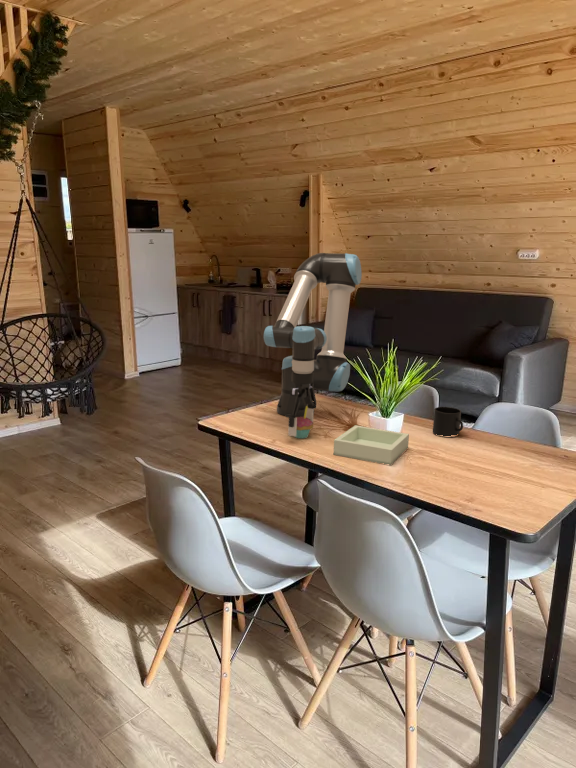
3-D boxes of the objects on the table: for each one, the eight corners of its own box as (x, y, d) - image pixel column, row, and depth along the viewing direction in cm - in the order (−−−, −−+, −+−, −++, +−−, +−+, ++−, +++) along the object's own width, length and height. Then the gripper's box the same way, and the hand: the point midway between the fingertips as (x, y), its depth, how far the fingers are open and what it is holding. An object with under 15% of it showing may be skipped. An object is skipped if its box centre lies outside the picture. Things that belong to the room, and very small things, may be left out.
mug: (452, 441, 213) (455, 416, 211) (427, 432, 223) (428, 408, 221) (470, 437, 218) (472, 413, 216) (444, 428, 228) (446, 405, 226)
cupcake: (313, 433, 218) (314, 401, 215) (312, 441, 209) (313, 407, 207) (289, 432, 218) (290, 400, 216) (287, 439, 210) (288, 406, 208)
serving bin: (354, 438, 213) (355, 425, 212) (408, 448, 204) (409, 434, 203) (333, 454, 196) (334, 439, 195) (390, 465, 188) (391, 450, 187)
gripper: (308, 364, 221) (306, 420, 226) (276, 376, 200) (274, 438, 204) (327, 366, 218) (324, 423, 223) (296, 379, 196) (294, 441, 201)
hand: (300, 430), depth 213 cm, fingers open, 13 cm apart
